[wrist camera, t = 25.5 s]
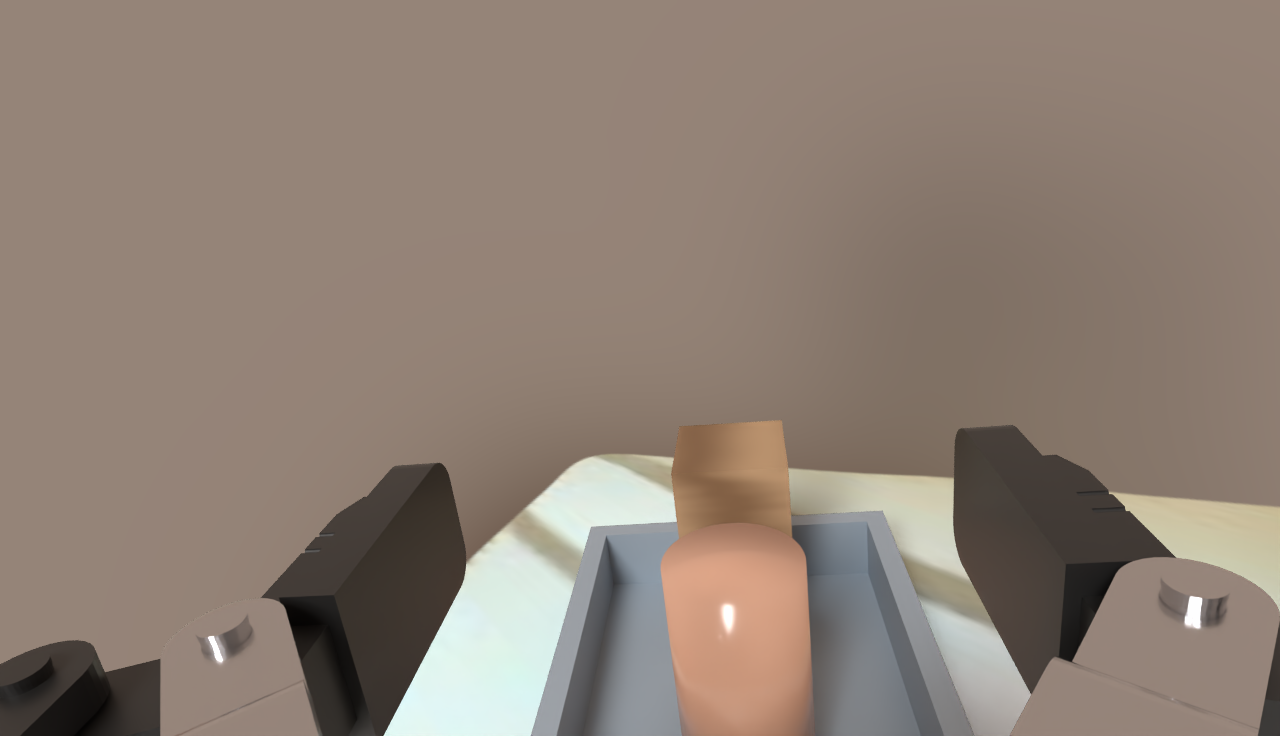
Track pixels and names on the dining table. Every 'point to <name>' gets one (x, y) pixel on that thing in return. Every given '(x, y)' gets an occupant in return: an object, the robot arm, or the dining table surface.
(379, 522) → the robot arm
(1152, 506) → the dining table surface
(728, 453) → the walnut block
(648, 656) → the tray
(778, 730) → the terracotta cylinder
